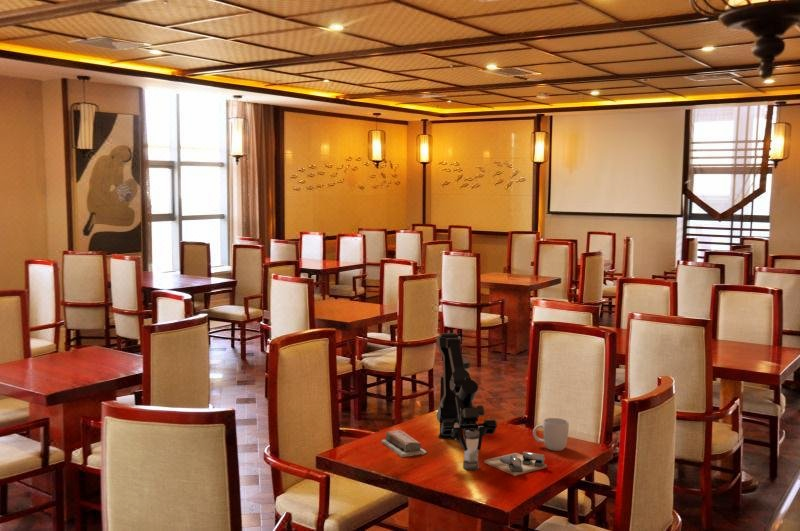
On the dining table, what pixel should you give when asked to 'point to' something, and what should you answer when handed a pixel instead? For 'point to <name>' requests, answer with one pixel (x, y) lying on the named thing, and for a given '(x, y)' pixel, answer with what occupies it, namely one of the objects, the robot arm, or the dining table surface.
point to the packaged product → (402, 444)
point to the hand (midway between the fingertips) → (472, 450)
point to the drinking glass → (471, 449)
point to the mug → (553, 433)
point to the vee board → (503, 465)
